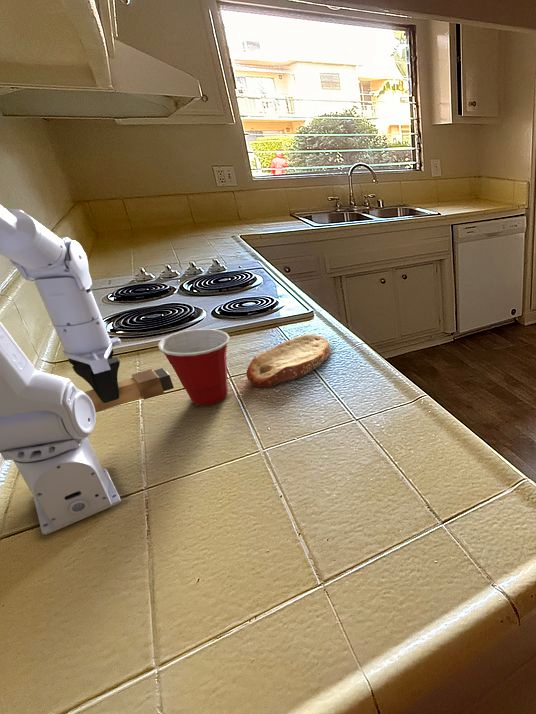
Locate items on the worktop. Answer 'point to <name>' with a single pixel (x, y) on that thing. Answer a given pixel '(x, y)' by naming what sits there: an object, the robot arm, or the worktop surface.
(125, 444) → the worktop surface
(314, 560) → the worktop surface
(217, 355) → the plastic cup
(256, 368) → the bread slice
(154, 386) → the brush
